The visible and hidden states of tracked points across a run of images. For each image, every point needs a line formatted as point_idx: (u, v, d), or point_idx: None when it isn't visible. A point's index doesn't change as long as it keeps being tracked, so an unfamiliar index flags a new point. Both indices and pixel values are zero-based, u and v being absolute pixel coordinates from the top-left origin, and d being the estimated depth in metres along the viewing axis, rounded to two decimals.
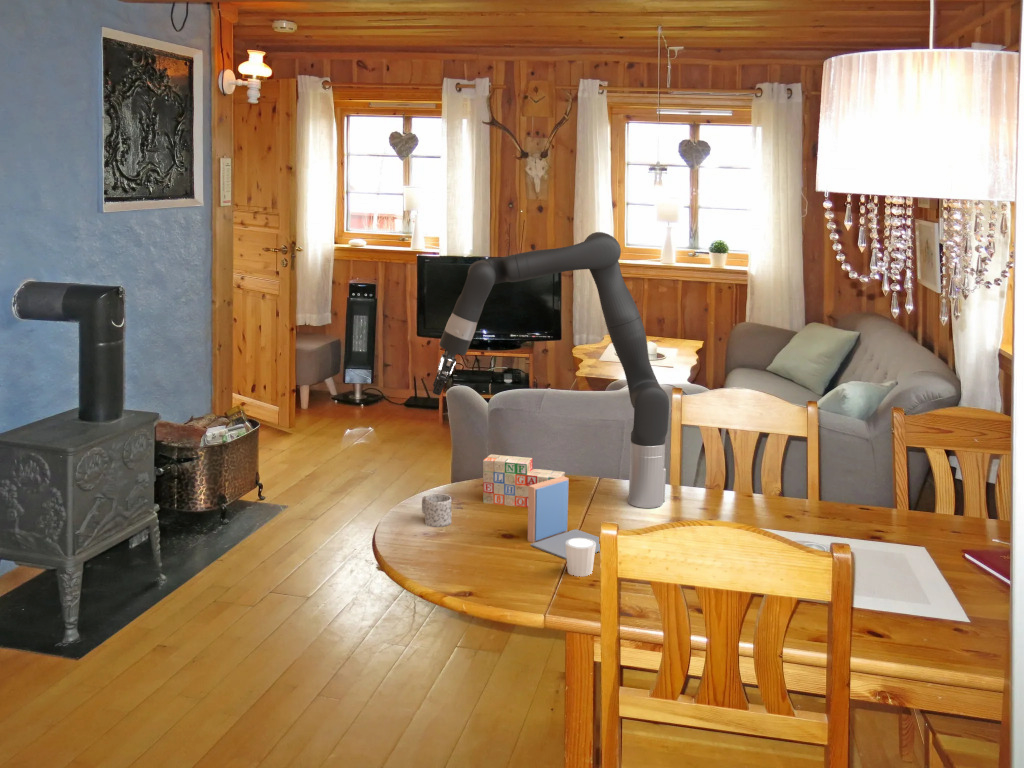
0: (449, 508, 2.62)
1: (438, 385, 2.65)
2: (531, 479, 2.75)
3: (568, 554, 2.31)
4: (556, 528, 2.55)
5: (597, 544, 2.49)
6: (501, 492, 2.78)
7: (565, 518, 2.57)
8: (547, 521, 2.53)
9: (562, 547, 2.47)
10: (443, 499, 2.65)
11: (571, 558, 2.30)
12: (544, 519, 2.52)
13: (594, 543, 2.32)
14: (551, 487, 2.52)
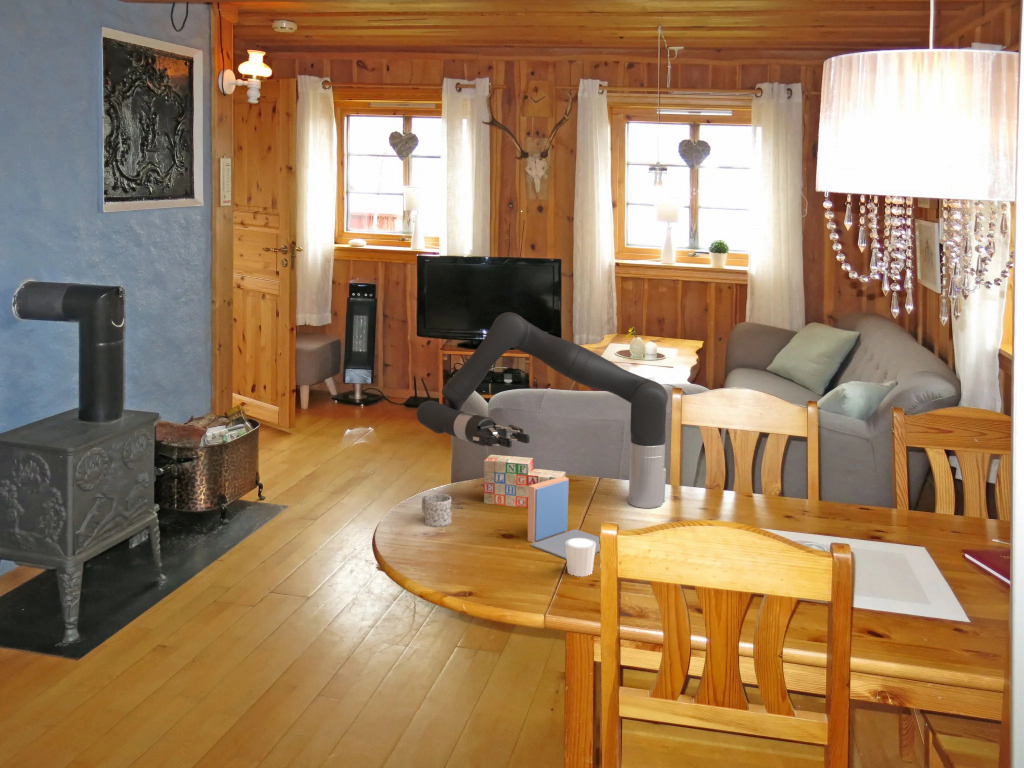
0: (449, 508, 2.62)
1: (500, 443, 2.58)
2: (532, 479, 2.75)
3: (568, 554, 2.31)
4: (556, 528, 2.55)
5: (597, 544, 2.49)
6: (501, 492, 2.78)
7: (565, 518, 2.57)
8: (547, 521, 2.53)
9: (562, 547, 2.47)
10: (443, 499, 2.65)
11: (571, 558, 2.30)
12: (544, 519, 2.52)
13: (594, 543, 2.32)
14: (551, 487, 2.52)
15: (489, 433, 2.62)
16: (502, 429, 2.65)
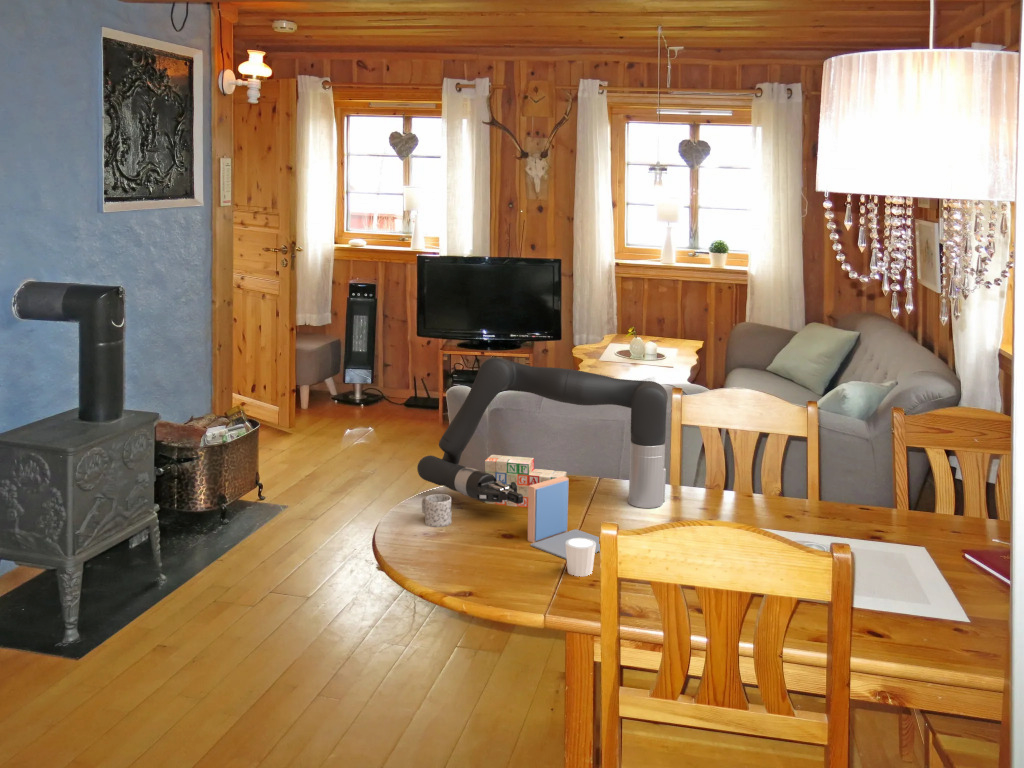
0: (449, 508, 2.62)
1: (510, 499, 2.62)
2: (534, 479, 2.75)
3: (568, 554, 2.31)
4: (556, 528, 2.55)
5: (597, 544, 2.49)
6: None
7: (565, 518, 2.57)
8: (547, 521, 2.53)
9: (562, 547, 2.47)
10: (443, 499, 2.65)
11: (571, 558, 2.30)
12: (544, 519, 2.52)
13: (594, 543, 2.32)
14: (551, 487, 2.52)
15: (490, 490, 2.65)
16: (499, 486, 2.67)
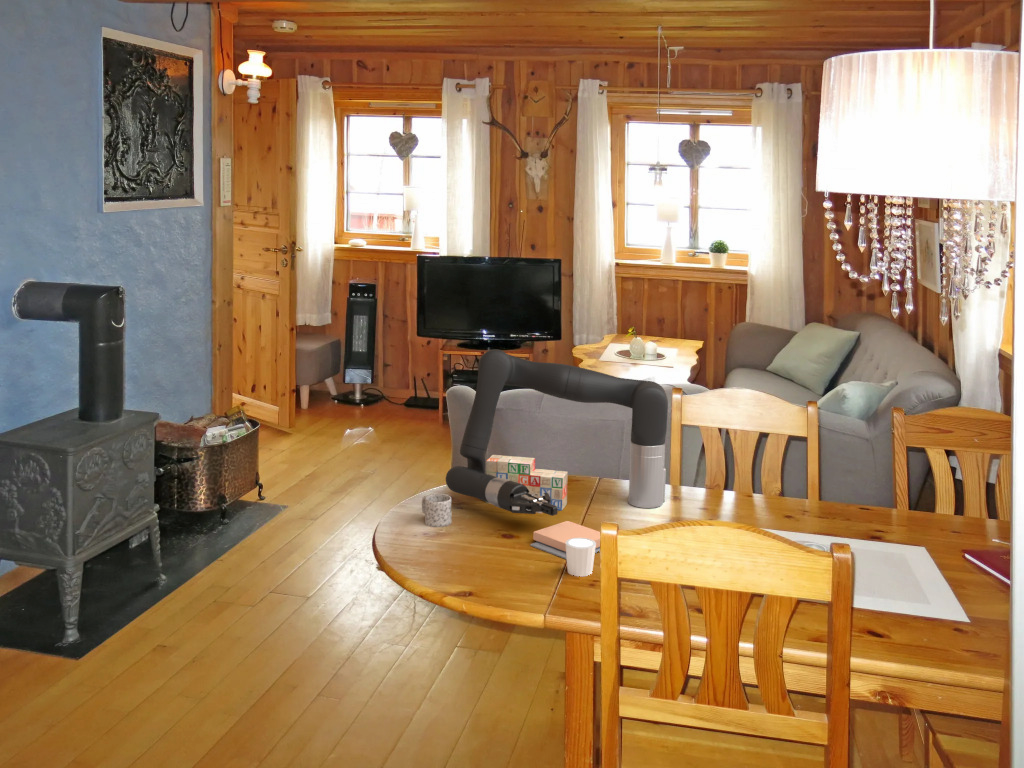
0: (449, 508, 2.62)
1: (544, 511, 2.53)
2: (535, 479, 2.75)
3: (568, 554, 2.31)
4: None
5: None
6: None
7: None
8: None
9: None
10: (443, 499, 2.65)
11: (571, 558, 2.30)
12: None
13: (594, 543, 2.32)
14: None
15: (522, 501, 2.57)
16: (532, 497, 2.58)
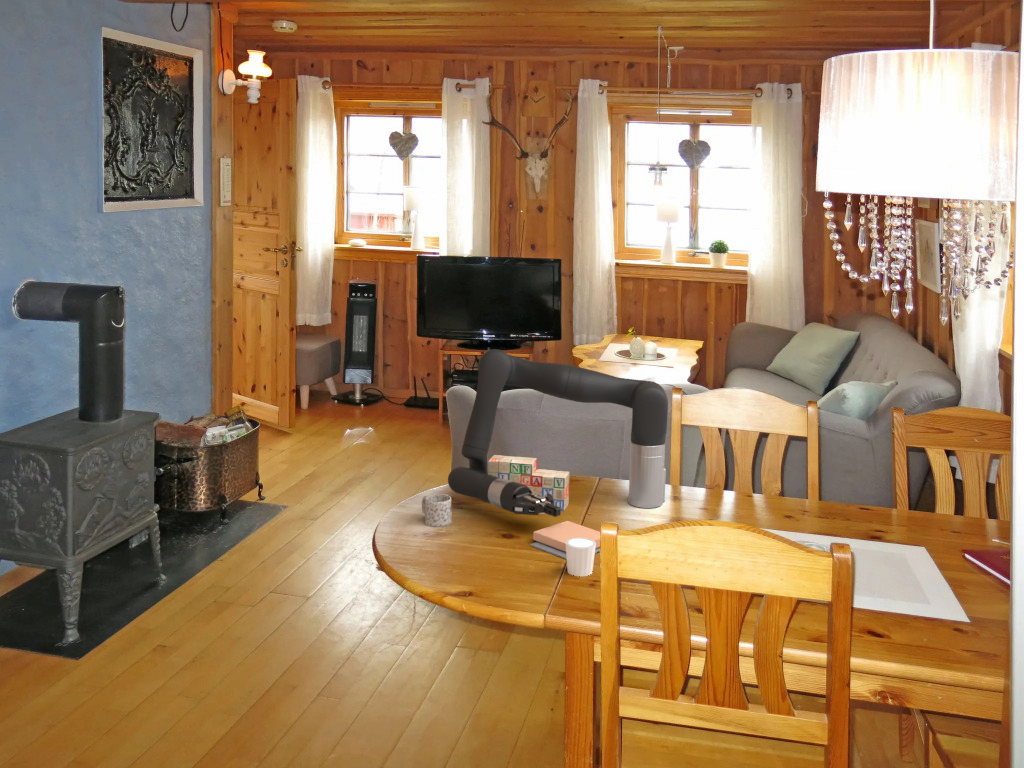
0: (449, 508, 2.62)
1: (547, 512, 2.53)
2: (537, 479, 2.75)
3: (568, 554, 2.31)
4: None
5: None
6: None
7: None
8: None
9: None
10: (443, 499, 2.65)
11: (571, 558, 2.30)
12: None
13: (594, 543, 2.32)
14: None
15: (525, 502, 2.56)
16: (535, 498, 2.58)
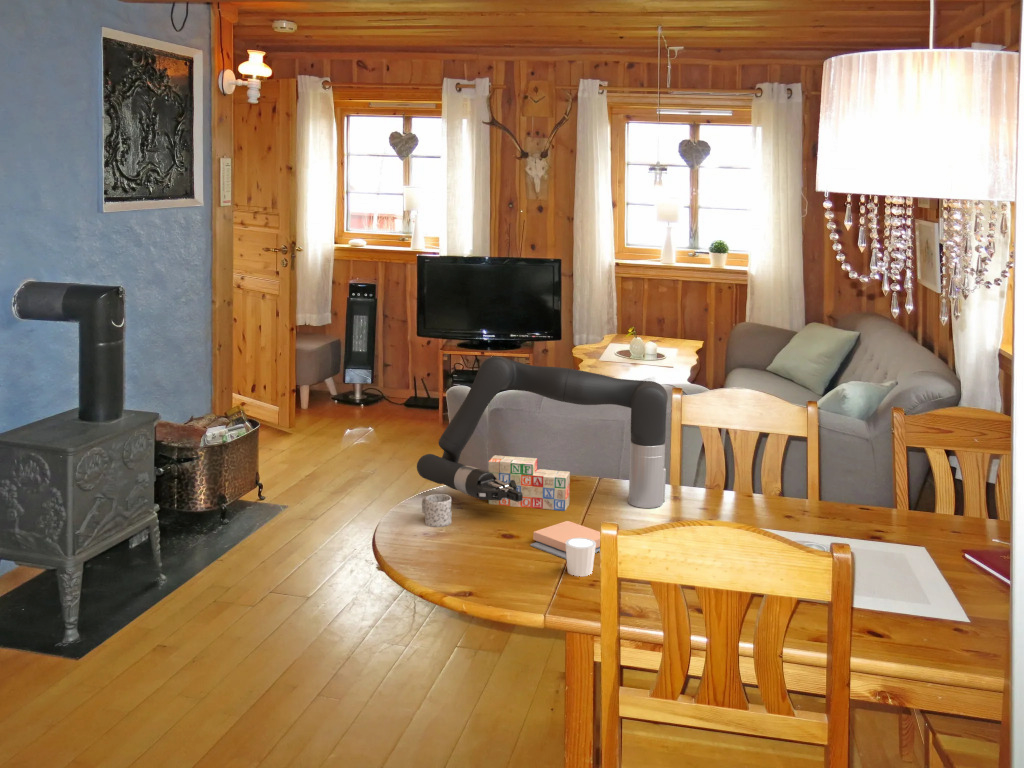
0: (449, 508, 2.62)
1: (509, 497, 2.62)
2: (538, 479, 2.74)
3: (568, 554, 2.31)
4: None
5: None
6: None
7: None
8: None
9: None
10: (443, 499, 2.65)
11: (571, 558, 2.30)
12: None
13: (594, 543, 2.32)
14: None
15: (489, 488, 2.65)
16: (499, 484, 2.67)
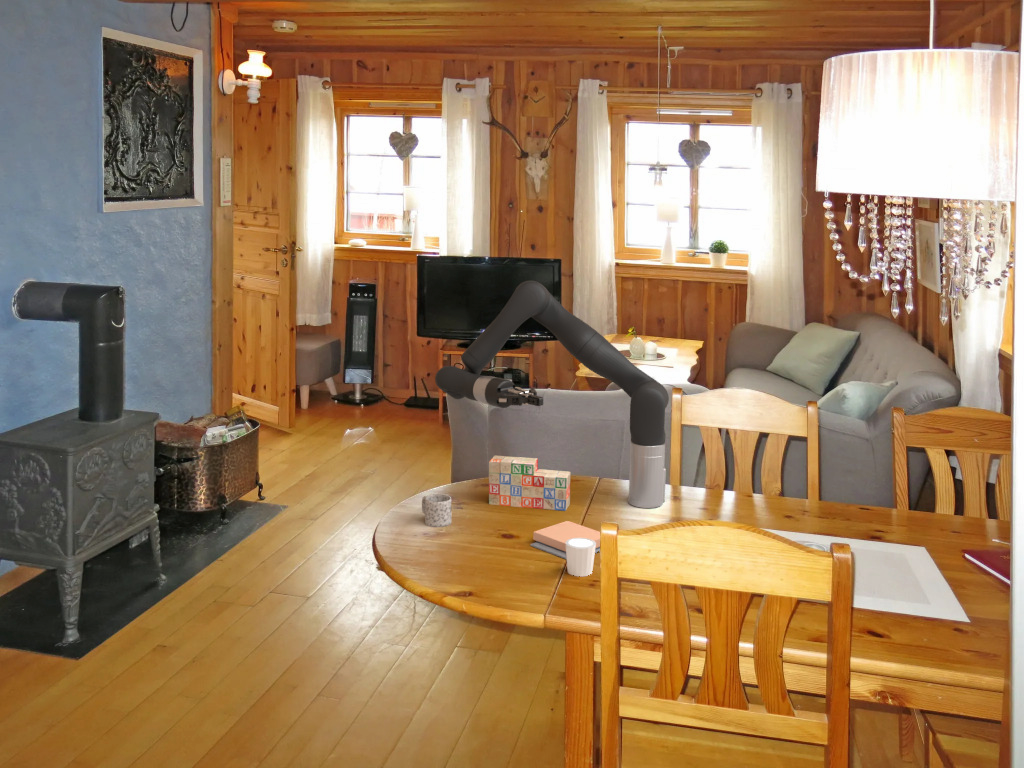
0: (449, 508, 2.62)
1: (530, 402, 2.60)
2: (538, 480, 2.74)
3: (568, 554, 2.31)
4: None
5: None
6: (507, 493, 2.77)
7: None
8: None
9: None
10: (443, 499, 2.65)
11: (571, 558, 2.30)
12: None
13: (594, 543, 2.32)
14: None
15: (509, 394, 2.63)
16: (519, 391, 2.65)
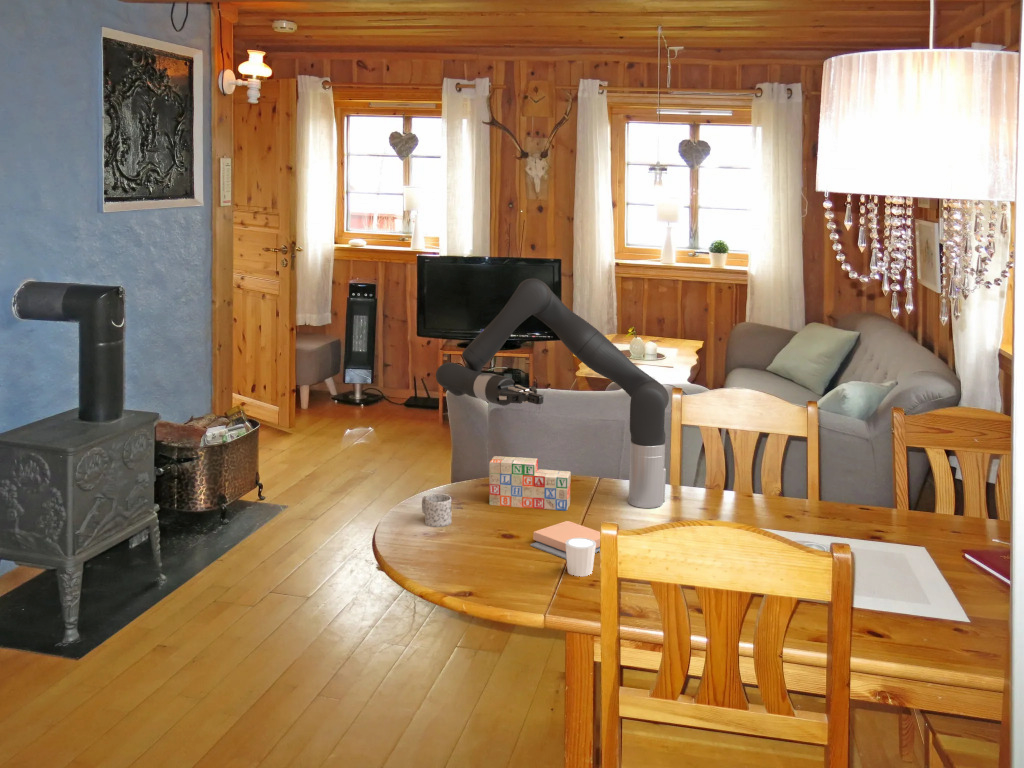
0: (449, 508, 2.62)
1: (530, 400, 2.60)
2: (539, 480, 2.74)
3: (568, 554, 2.31)
4: None
5: None
6: (507, 494, 2.77)
7: None
8: None
9: None
10: (443, 499, 2.65)
11: (571, 558, 2.30)
12: None
13: (594, 543, 2.32)
14: None
15: (509, 392, 2.63)
16: (519, 389, 2.65)
